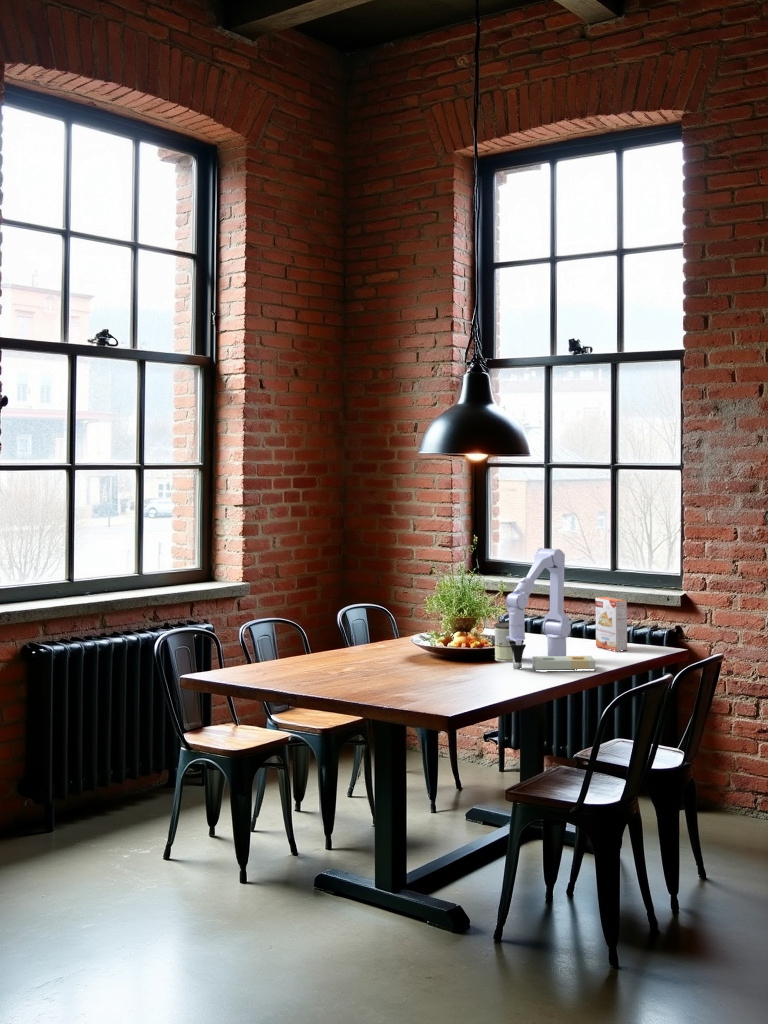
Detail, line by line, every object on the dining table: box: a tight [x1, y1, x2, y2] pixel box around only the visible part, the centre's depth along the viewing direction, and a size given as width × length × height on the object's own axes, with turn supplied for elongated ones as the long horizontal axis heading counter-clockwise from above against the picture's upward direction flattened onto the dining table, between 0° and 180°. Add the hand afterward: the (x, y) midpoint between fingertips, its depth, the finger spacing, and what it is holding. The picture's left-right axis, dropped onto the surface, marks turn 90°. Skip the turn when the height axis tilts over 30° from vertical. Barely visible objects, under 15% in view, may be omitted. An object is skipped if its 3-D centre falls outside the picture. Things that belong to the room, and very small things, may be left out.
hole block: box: [532, 655, 596, 671], centre depth 405 cm, size 10×22×4 cm, turn 88°
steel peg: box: [512, 653, 523, 670], centre depth 407 cm, size 3×3×8 cm
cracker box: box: [595, 596, 628, 652], centre depth 445 cm, size 14×6×21 cm, turn 25°
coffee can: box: [493, 621, 513, 663], centre depth 426 cm, size 10×10×14 cm
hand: (517, 661), depth 407 cm, fingers open, 6 cm apart
